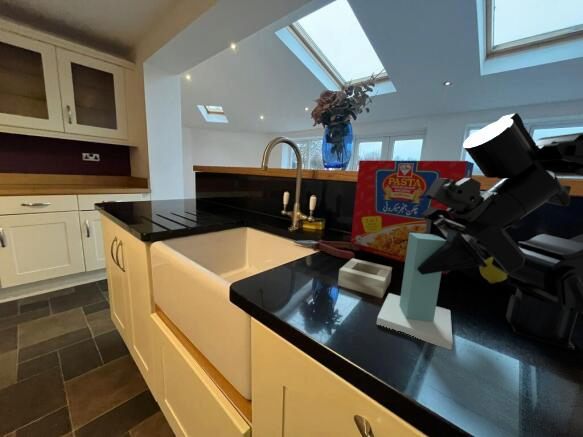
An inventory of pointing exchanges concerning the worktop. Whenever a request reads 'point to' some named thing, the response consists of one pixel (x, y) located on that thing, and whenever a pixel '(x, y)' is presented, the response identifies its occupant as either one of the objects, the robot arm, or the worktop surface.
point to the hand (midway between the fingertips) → (413, 265)
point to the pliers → (331, 247)
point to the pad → (417, 323)
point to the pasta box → (397, 202)
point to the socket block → (365, 277)
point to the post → (420, 278)
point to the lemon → (492, 272)
